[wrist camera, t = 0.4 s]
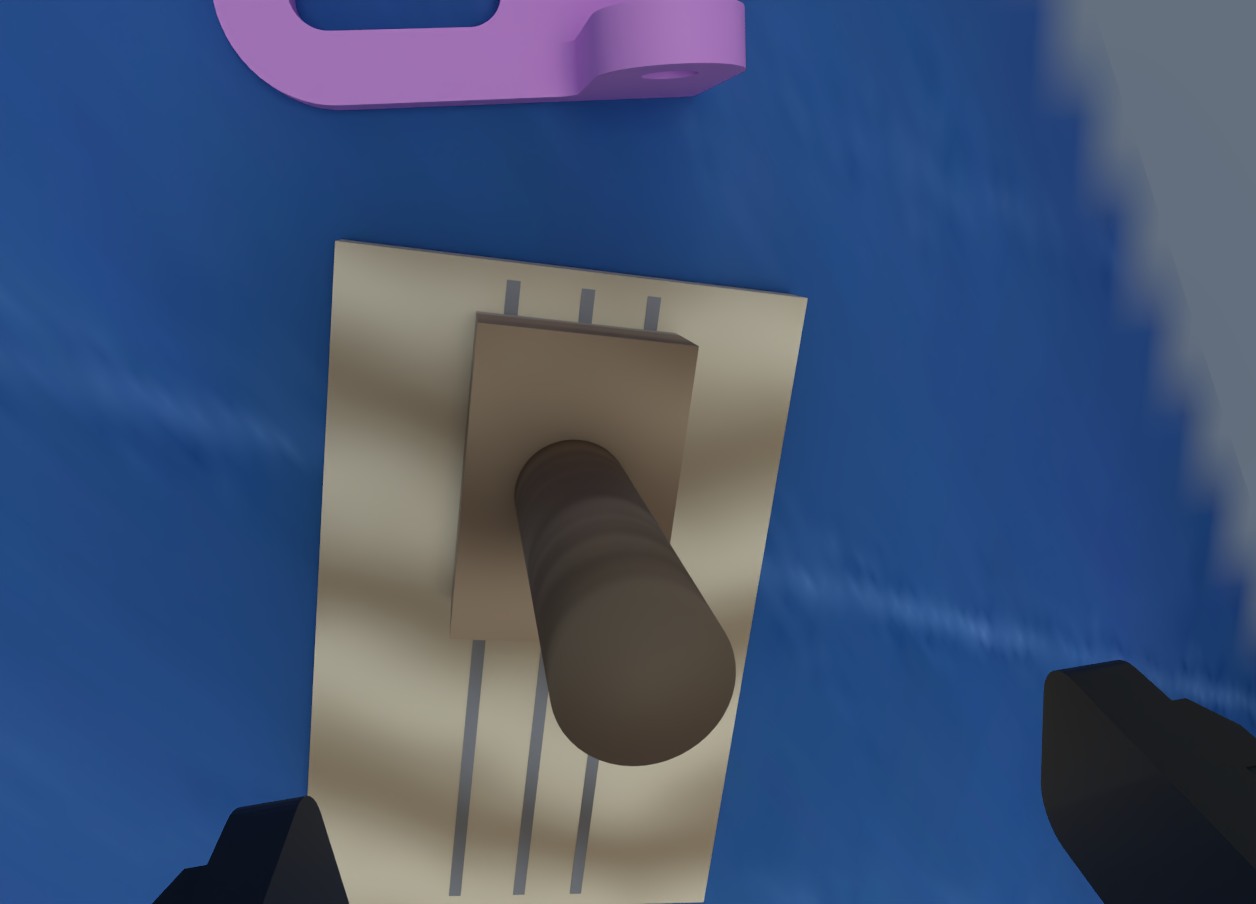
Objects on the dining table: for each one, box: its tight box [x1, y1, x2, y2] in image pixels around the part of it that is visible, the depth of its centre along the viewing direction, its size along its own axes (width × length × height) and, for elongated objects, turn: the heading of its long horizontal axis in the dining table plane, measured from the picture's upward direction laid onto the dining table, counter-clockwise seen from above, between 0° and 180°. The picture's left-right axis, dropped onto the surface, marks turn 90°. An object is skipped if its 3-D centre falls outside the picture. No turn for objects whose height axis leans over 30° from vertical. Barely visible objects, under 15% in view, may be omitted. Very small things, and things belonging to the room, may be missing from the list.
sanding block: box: [450, 311, 736, 766], centre depth 22 cm, size 9×6×13 cm, turn 173°
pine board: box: [308, 239, 808, 904], centre depth 30 cm, size 22×14×2 cm, turn 172°
